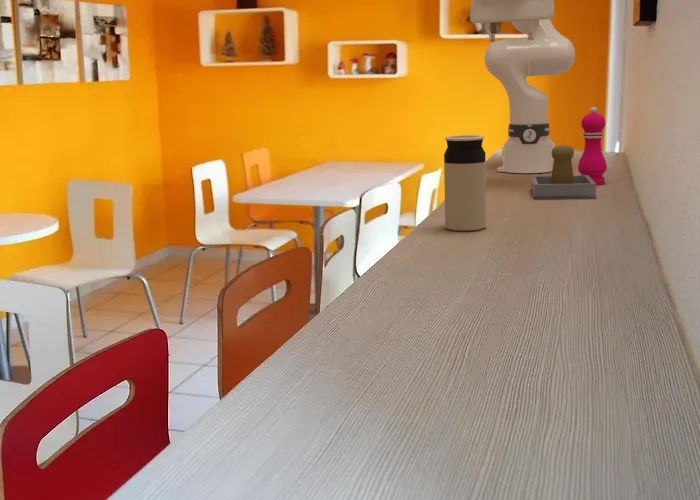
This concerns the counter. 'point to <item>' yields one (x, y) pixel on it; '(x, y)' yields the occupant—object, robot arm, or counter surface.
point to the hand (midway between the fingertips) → (511, 40)
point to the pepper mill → (593, 147)
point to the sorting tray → (563, 188)
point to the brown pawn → (562, 165)
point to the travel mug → (465, 183)
